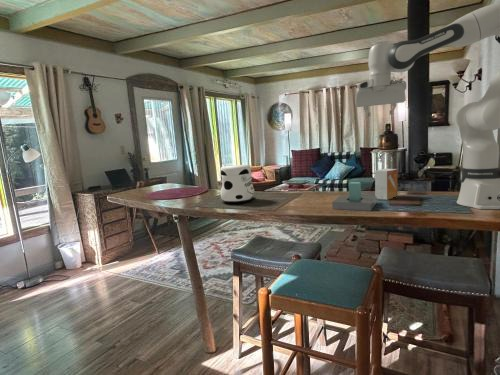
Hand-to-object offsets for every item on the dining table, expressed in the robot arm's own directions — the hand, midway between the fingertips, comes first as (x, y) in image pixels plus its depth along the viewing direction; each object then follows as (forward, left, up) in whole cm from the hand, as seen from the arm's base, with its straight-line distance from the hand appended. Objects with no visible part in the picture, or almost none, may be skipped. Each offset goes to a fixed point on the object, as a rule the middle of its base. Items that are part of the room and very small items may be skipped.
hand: (379, 115), depth 140 cm
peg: (+8, +16, -37) cm, 41 cm away
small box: (-2, -3, -37) cm, 38 cm away
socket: (+8, +16, -37) cm, 41 cm away
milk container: (+66, +17, -37) cm, 78 cm away
